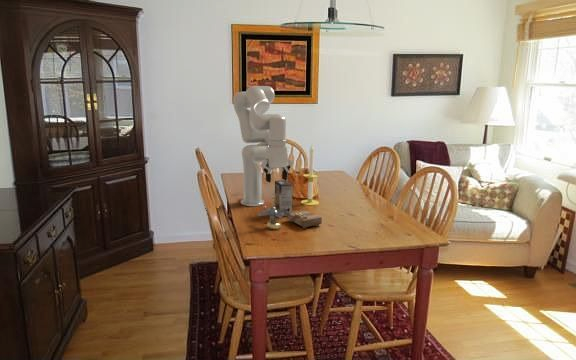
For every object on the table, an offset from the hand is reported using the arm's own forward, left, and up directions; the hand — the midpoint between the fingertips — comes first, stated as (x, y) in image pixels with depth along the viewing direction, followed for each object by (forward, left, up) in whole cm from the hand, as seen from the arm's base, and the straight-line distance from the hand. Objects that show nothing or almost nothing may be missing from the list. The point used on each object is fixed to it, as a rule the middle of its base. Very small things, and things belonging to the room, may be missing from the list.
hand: (276, 180), depth 214 cm
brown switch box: (+8, +11, -20) cm, 24 cm away
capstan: (+5, -5, -20) cm, 21 cm away
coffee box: (-10, +10, -20) cm, 25 cm away
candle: (-19, +33, -20) cm, 43 cm away
